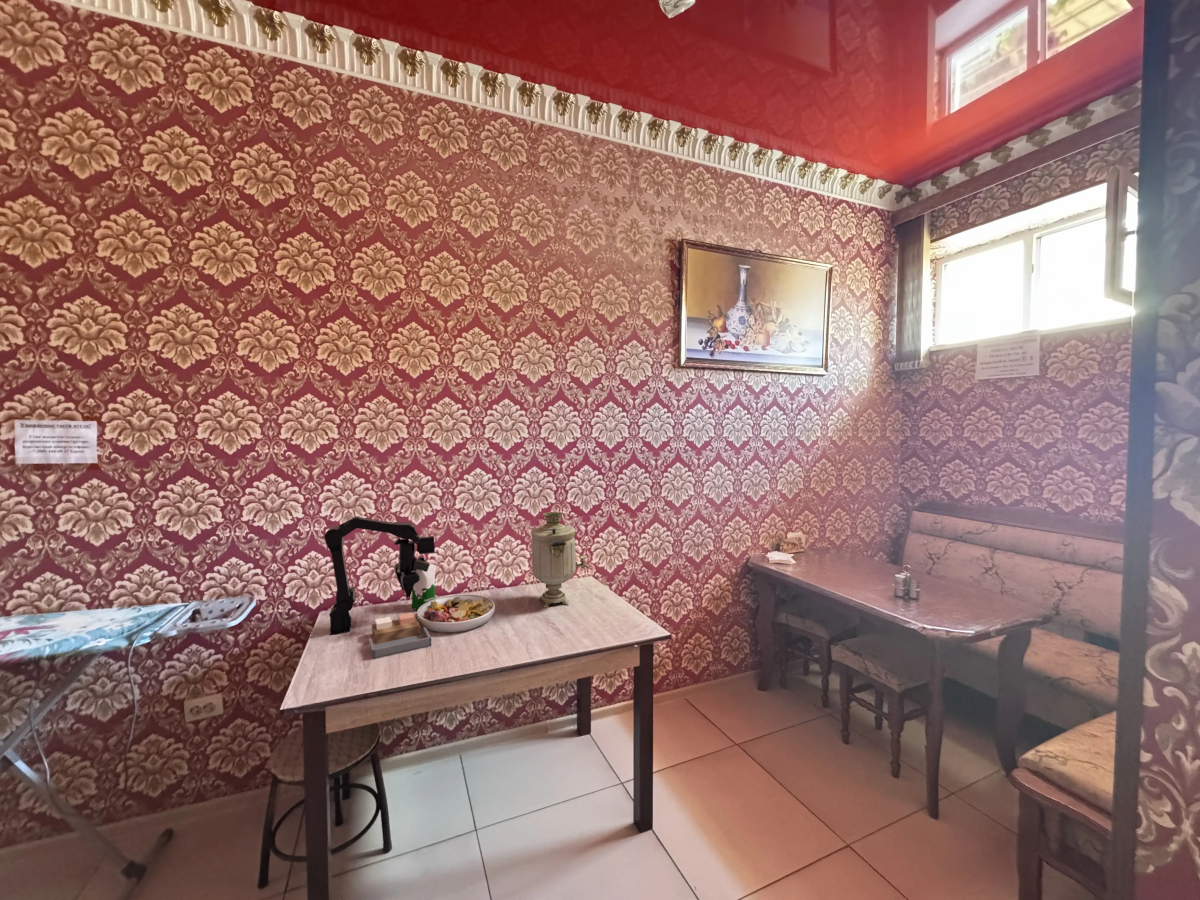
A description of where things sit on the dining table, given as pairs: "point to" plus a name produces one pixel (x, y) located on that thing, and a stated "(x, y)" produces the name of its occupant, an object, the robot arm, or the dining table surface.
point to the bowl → (456, 612)
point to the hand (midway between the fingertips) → (406, 593)
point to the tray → (400, 645)
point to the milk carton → (424, 587)
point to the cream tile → (383, 623)
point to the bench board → (395, 631)
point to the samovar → (554, 556)
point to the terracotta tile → (406, 618)
